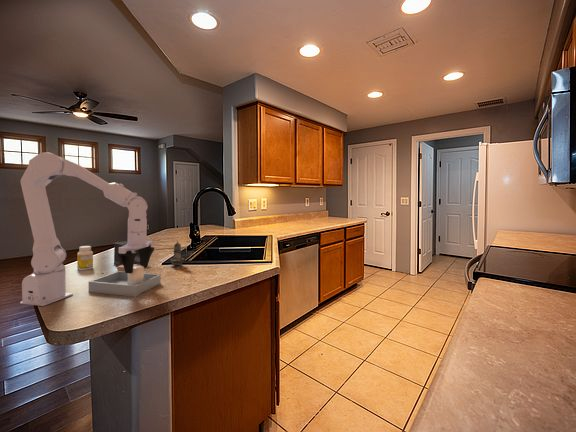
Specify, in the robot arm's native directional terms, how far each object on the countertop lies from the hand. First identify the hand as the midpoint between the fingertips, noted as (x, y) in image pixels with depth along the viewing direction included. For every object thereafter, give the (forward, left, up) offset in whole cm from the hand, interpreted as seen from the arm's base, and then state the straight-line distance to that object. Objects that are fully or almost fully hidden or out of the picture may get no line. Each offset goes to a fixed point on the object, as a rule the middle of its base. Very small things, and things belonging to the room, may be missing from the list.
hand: (136, 270), depth 93 cm
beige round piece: (0, 0, -6) cm, 6 cm away
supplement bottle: (+16, +36, -7) cm, 40 cm away
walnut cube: (+10, +11, -7) cm, 17 cm away
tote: (0, +4, -7) cm, 8 cm away
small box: (+28, +25, -7) cm, 39 cm away
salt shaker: (+30, +2, -7) cm, 31 cm away
